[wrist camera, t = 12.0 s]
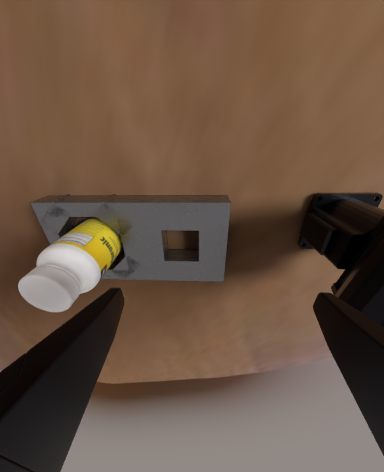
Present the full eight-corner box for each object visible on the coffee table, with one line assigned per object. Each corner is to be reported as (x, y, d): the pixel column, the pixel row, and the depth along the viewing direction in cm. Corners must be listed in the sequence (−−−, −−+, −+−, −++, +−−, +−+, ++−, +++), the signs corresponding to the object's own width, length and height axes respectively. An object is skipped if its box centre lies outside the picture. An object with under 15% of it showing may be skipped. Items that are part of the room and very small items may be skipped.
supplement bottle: (127, 255, 24) (84, 322, 15) (86, 248, 23) (19, 313, 15) (126, 218, 21) (73, 275, 12) (80, 211, 21) (-6, 263, 12)
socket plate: (227, 193, 19) (230, 201, 17) (221, 269, 24) (223, 282, 22) (47, 194, 20) (28, 201, 18) (77, 266, 25) (65, 278, 23)
